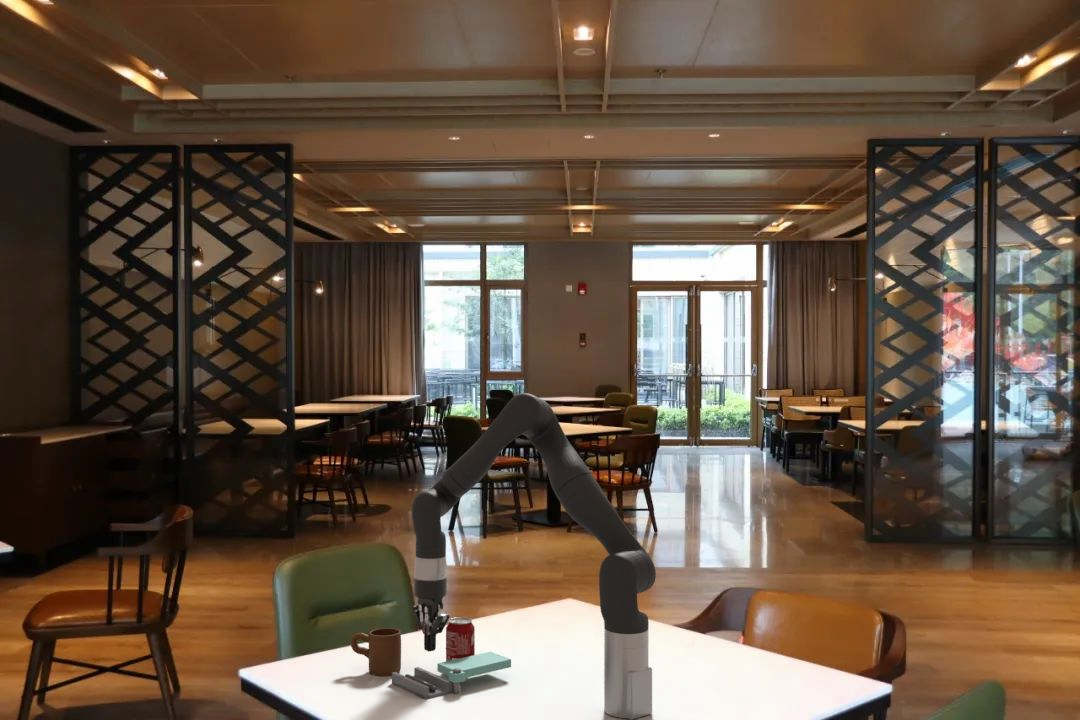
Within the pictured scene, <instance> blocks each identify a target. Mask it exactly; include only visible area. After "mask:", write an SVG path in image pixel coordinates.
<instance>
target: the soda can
mask: <svg viewBox="0 0 1080 720" xmlns="http://www.w3.org/2000/svg"><path fill="white" fill-rule="evenodd" d="M475 628H476V627H475V625H474V624H473V619H472V618H470V617H466V616H465V617H464V616H460V617H459V616H457V617H451V618H449V619H448V624H446V626H445V631H446V632H445V662H446V661H450V660H455V659H459V658H464V657H468V656H473V655H476V654H475V653H476V652H475V650H476V649H475V641H476V640H475V636H476V635H475V630H476V629H475Z"/></svg>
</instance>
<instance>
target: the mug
mask: <svg viewBox="0 0 1080 720" xmlns="http://www.w3.org/2000/svg"><path fill="white" fill-rule="evenodd" d="M401 632H402V631H401V630H400V629H397V628H393V627H392V628H389V627H383V628H375V629H372V630H371V631H369V632H368V633H369V635H368V634H367V633H365V632H357V633H354V634H353V635H352V636H351V639H350V642H349V643H350V646H351V649H352V651H354V653H356V654H358V655H361V656H362V655H363V656H364V657H366V658H367V659H368V671H369V674H371V675H373V676H377V677H389V676H392V673H393V672H397V673H400V672H401V669H402V633H401ZM358 640H361V641H363V642H366V643H368V647H364V646H361V645H359V644H358Z"/></svg>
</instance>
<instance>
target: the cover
mask: <svg viewBox="0 0 1080 720" xmlns="http://www.w3.org/2000/svg"><path fill="white" fill-rule="evenodd" d="M436 668H437V669H436V670H437V672H438V673H441V674H442V675H445V676H447V677H448V680H449V681H452V683H453V684H454V683H458V682H460V683H461V682H466V679H467V678H470V677H475V676H479V675H483V674H484V675H485V674H487V673H491V672H495V671H500V670H503V669H504V670H505V669H508V668H512V658H509V657H506V656H504V655H501V654H499V653H495V652H493V651H487V652H483V653H479V654H478V653H477V654H475V655H473V656H468V657H464V658H459V659H455V660H450V661H446V660H445V661H442V662H438V663H437V667H436Z"/></svg>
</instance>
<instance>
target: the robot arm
mask: <svg viewBox="0 0 1080 720" xmlns="http://www.w3.org/2000/svg"><path fill="white" fill-rule="evenodd" d="M558 420H559V419H558V418H557V416H556V414H555V413H554V410H553V409H552V406H550V404H549V403H548V402H547V401H545V400H544V399H542V398H540V397H537V396H536V395H534V394H531V393H527V392H526V393H519V394H516V395H515V396H513V397H512V398H510V400H509V401H508V402H507V403H506V404H505V406H504V407H503V408H502V410H501V411H500V412H499V413H498V415H497V416H496V417H495V418H494V420H493V421H492V422H491V424H490V425H489V426H488V427H487V428H486V429H485V431H484V432H483V433H482V434H481V436H480V437H479V438H478V439H477V440H476V441H475V442H474V444H473V445H472V446H470V447H469V448H468V449H467V451H465V452H464V454H462V455H461V456H460V457H459V458H458V459H457V460H456V461H455V462H454V463H453V464H452V465H451V466H450V467H448V468H447V469H446V470H445V471H444V473H442V477H441V478H440V479H439V480H438V481H437V482H436V483H435V484H434V485H432V486H431V487H430V488H429V489H427V490H425V491H421V492H419V493H418V494H417V495H416V496H415V497H414V499H413V501H412V506H411V517H412V523H413V524H412V525H413V531H414V534H415V560H414V573H413V574H414V575H413V576H414V579H413V583H414V584H413V585H414V587H413V588H414V589H413V590H414V591H413V595H414V596H415V597H416V599H417V598H418V599H417V604H416V605H412V606H411V610H412V614H413V616H414V619H415V622H416V624H417V628H418V630H421V631H422V634H423V643H424V644H423V649H424V651H427V652H434V651H436V647H437V645H436V644H437V635H438V634H441V633H442V632H443V630H444V629H445V628H446V626H447V623H448V622H449V619H450V615H449V613H445V612H444V603H443V598H444V597H446V596H447V583H448V579H447V578H448V577H447V576H448V575H447V573H448V572H447V571H448V564H447V537H446V534H445V532H444V531H442V523H441V518H442V517H444V516H445V515H446V514H447V513H448V512H450V511H451V510H452V508H454V507H455V505H456V504H457V503H458V501H460V499H461V498H462V497H463V496H464V495H465V494H467V493H468V492H470V490H472V488H474V487H475V486H476V485H477V484H479V482H480V481H481V480H482V479H484V477H486V475H487V473H488V472H489V471H490V469H491V468H492V467H493V465H494V463H495V461H496V459H497V457H499V455H500V454H501V453H502V451H503V450H504V448H506V447H507V446H508V445H509V444H510V443H511V442H513V441H514V440H515V439H517V438H518V437H519V436H522V435H523V436H525V437H526V438H527V439H528V440H529V441H530V442H531V444H532V446H534V448H535V449H536V451H537V452H538V454H539V455H540V457H541V458H542V461H543V462H544V465H545V467H546V471H547V475H548V479H549V483H550V485H551V488H552V491H553V492H554V494H555V496H556V498H557V499H558V501H559V503H560V504H561V506H562V508H563V509H564V511H565V512H566V514H567V515H568V516H569V517H570V518H571V519H572V520H573V521H574V522H576V523H577V524H578V525H579V526H580V527H581V528H583V529H585V531H587V532H588V533H589V534H590V535H592V536H593V537H595V539H597V540H598V541H599V542H600V544H602V546H603V547H604V549H605V550H606V552H607V553H608V555H607V556H606V557H605V558H604V559H603V561H602V562H601V565H600V568H599V573H598V584H599V585H598V586H599V587H598V588H599V589H598V590H599V604H600V605H599V607H600V608H599V609H600V613H601V616H602V619H603V626H604V628H603V630H604V633H603V634H604V635H603V637H604V639H603V640H604V643H603V644H604V645H603V646H604V648H603V650H604V651H603V653H604V654H603V655H604V658H603V659H604V664H603V665H604V670H603V671H604V675H603V677H604V678H603V679H604V681H603V683H604V688H603V690H604V693H603V695H604V707H603V708H604V709H603V710H604V713H605V714H607V715H609V716H612V717H614V718H621V719H628V720H636V719H639V718H642V717H645V716H648V715H651V714H652V715H653V669H652V667H651V666H649V643H650V642H649V637H650V636H649V629H650V628H649V616H648V614H646V613H645V612H643V611H641V610H639V606H638V605H639V604H638V594H641V593H644V592H647V591H648V590H650V589H651V588H653V586H654V584H655V582H656V578H657V577H656V575H657V573H656V567H655V565H654V564H655V563H654V561H653V560H652V558H651V556H650V555H649V553H648V552H647V551H646V550H645V548H644V546H642V545H641V543H640V542H639V540H638V539H637V538H636V537H635V536H634V535H633V534H632V533H631V531H630V530H629V528H628V527H627V526H626V525H625V523H624V521H623V520H622V518H621V517H620V516H619V514H618V512H617V511H616V510H615V508H614V507H613V505H612V503H611V502H610V500H609V499H608V498H607V496H606V494H605V493H604V491H603V489H602V487H601V486H600V484H599V483H598V482H597V480H596V478H595V476H594V475H593V474H592V473H593V472H591V470H590V469H589V468H588V466H587V465H586V463H585V462H584V461H583V459H582V458H581V457H580V455H579V454H578V452H577V451H576V450H575V448H574V447H573V446H572V444H571V443H570V441H569V440H568V438H567V436H566V434H565V431H564V430H563V429H562V427H561V424H560V422H559V421H558Z"/></svg>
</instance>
